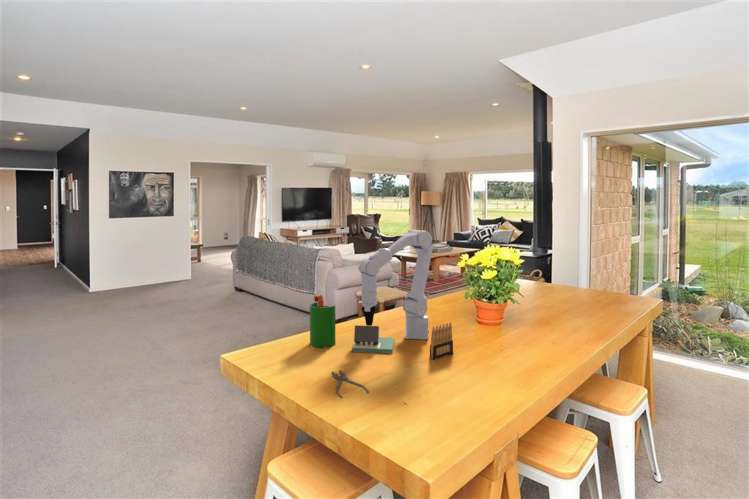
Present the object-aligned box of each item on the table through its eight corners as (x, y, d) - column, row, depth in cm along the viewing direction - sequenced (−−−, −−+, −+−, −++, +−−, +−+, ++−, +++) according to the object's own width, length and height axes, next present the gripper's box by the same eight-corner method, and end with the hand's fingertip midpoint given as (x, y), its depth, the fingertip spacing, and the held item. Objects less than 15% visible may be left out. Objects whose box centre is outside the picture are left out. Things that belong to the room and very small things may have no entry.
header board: (394, 341, 184) (394, 330, 183) (392, 353, 170) (392, 341, 169) (356, 340, 185) (356, 329, 185) (351, 351, 171) (351, 340, 171)
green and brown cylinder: (338, 341, 183) (338, 292, 181) (329, 349, 175) (328, 297, 172) (315, 339, 186) (315, 291, 184) (305, 346, 178) (304, 295, 175)
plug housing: (378, 343, 176) (379, 327, 178) (377, 342, 172) (378, 326, 174) (355, 342, 177) (356, 327, 178) (354, 341, 173) (354, 325, 175)
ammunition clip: (433, 360, 163) (433, 327, 162) (429, 358, 165) (429, 326, 163) (453, 353, 170) (453, 322, 168) (449, 352, 171) (450, 320, 170)
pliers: (343, 398, 132) (313, 375, 148) (344, 401, 132) (313, 378, 148) (372, 390, 137) (339, 369, 153) (372, 393, 137) (339, 371, 154)
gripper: (360, 286, 183) (361, 319, 185) (356, 294, 169) (356, 330, 171) (378, 286, 183) (378, 320, 184) (375, 294, 168) (375, 330, 170)
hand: (369, 325), depth 178 cm, fingers closed
